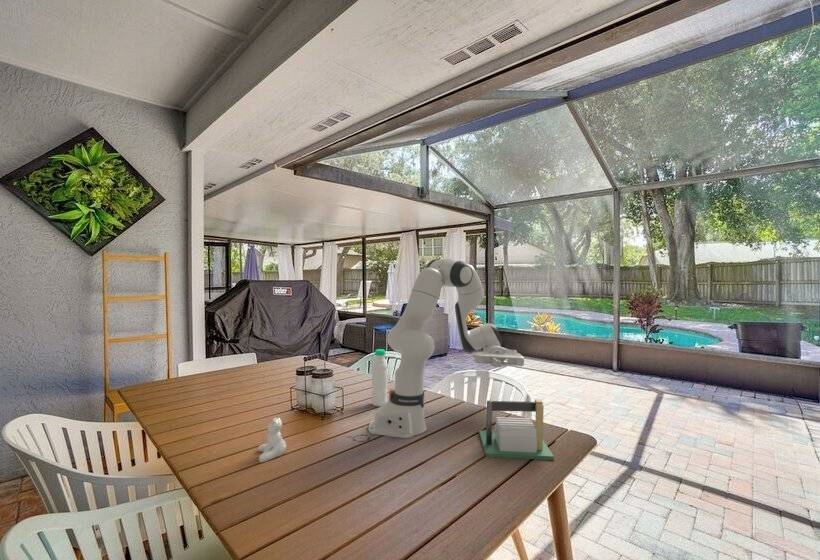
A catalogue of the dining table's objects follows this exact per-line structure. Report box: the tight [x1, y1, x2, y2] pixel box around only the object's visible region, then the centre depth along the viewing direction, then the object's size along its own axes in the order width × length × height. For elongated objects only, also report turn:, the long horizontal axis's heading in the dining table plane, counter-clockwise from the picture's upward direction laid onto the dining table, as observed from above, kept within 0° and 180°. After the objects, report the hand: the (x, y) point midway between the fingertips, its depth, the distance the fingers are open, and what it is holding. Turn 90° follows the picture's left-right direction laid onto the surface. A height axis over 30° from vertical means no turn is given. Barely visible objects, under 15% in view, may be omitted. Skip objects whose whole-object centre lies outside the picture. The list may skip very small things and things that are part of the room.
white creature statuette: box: [257, 417, 287, 463], centre depth 122 cm, size 10×9×12 cm
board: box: [478, 398, 555, 461], centre depth 131 cm, size 22×18×17 cm
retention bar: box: [485, 400, 536, 444], centre depth 130 cm, size 18×2×14 cm, turn 90°
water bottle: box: [371, 348, 389, 407], centre depth 170 cm, size 7×7×25 cm
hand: (501, 363), depth 150 cm, fingers closed
